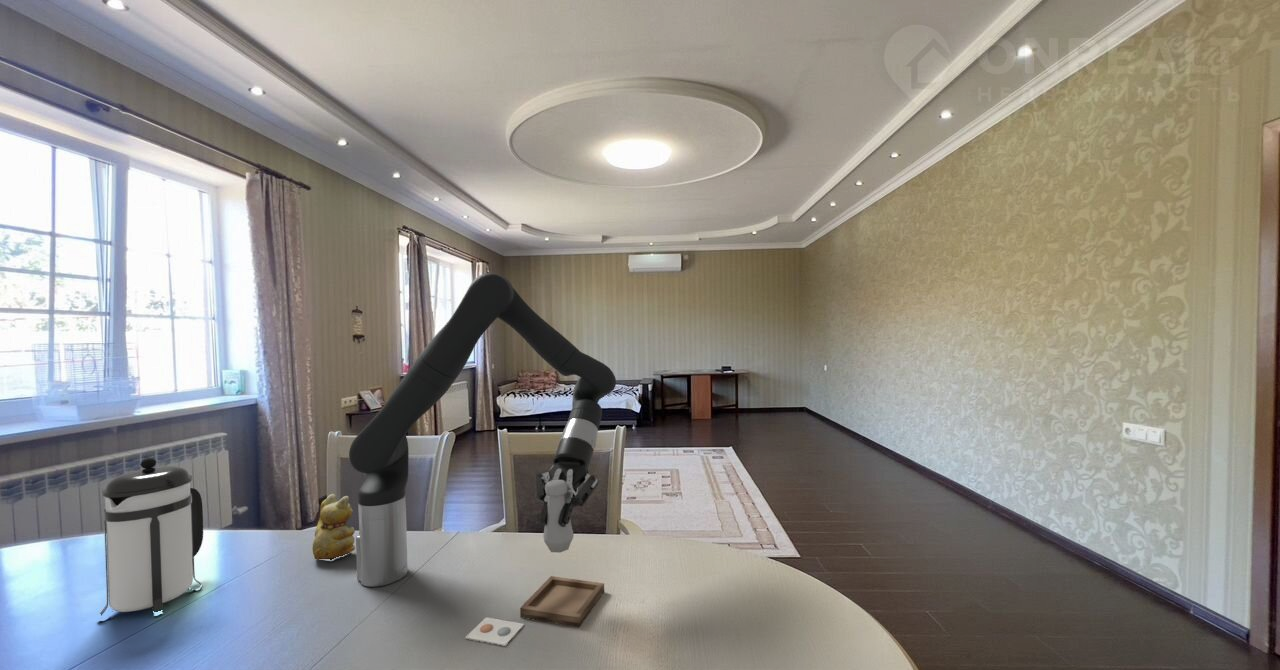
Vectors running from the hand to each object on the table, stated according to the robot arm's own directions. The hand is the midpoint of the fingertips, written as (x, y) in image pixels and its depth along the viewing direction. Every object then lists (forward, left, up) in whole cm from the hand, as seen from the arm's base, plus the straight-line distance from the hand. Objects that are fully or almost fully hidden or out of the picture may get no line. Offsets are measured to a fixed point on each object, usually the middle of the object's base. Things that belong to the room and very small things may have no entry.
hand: (553, 524), depth 91 cm
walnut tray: (+1, +2, -16) cm, 16 cm away
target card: (-7, -9, -16) cm, 20 cm away
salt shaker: (0, +2, -6) cm, 6 cm away
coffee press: (-82, -18, -17) cm, 86 cm away
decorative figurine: (-63, +6, -17) cm, 66 cm away
